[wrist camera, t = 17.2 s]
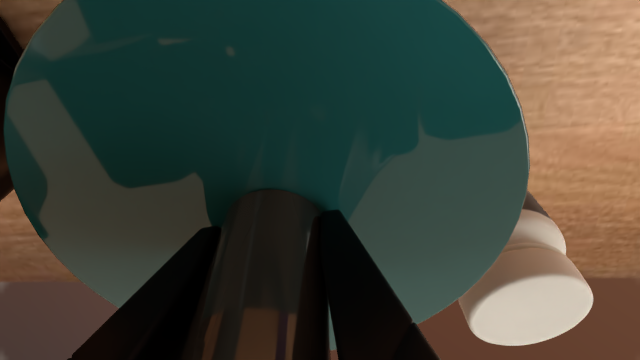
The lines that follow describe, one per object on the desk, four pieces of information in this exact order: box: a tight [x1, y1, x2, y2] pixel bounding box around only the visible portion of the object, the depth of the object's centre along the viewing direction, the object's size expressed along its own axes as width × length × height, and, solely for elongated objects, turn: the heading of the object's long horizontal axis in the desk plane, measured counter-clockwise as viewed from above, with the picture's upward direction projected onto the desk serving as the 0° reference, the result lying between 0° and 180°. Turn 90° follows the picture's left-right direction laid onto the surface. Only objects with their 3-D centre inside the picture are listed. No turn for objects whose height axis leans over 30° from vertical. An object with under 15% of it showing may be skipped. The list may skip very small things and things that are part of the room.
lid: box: [3, 0, 530, 360], centre depth 7 cm, size 11×11×6 cm
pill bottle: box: [458, 190, 593, 346], centre depth 15 cm, size 5×5×8 cm
